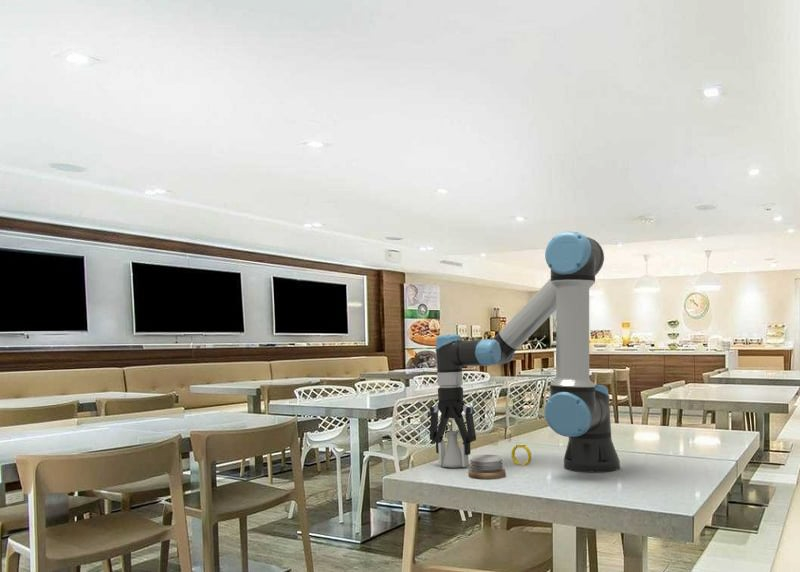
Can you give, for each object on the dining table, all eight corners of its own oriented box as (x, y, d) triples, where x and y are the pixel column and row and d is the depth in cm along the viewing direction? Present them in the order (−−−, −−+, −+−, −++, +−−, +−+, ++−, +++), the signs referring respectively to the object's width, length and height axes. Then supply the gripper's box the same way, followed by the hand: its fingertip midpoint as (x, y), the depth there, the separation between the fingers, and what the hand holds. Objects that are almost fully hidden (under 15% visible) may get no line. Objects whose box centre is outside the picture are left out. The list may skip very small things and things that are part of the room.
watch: (511, 465, 191) (508, 445, 192) (516, 464, 194) (513, 443, 194) (529, 465, 188) (526, 444, 189) (533, 464, 190) (531, 443, 191)
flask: (464, 468, 186) (462, 433, 187) (439, 468, 188) (438, 433, 189) (467, 464, 193) (465, 430, 194) (443, 464, 195) (442, 430, 196)
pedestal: (511, 473, 177) (510, 455, 177) (496, 480, 168) (495, 461, 169) (478, 471, 182) (477, 453, 182) (462, 477, 173) (461, 458, 174)
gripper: (485, 385, 191) (490, 465, 188) (427, 386, 201) (430, 461, 199) (474, 387, 185) (478, 469, 182) (415, 387, 195) (418, 465, 193)
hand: (453, 465), depth 190 cm, fingers closed on flask, 7 cm apart
